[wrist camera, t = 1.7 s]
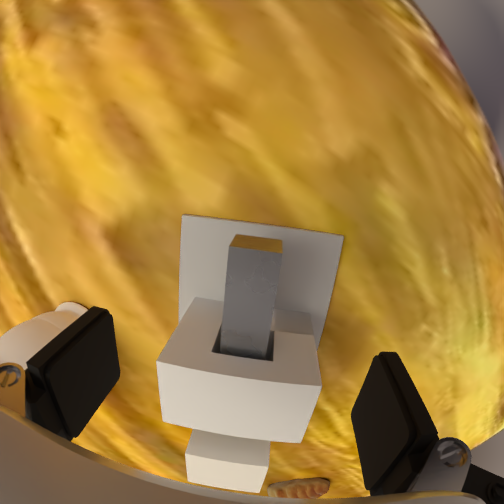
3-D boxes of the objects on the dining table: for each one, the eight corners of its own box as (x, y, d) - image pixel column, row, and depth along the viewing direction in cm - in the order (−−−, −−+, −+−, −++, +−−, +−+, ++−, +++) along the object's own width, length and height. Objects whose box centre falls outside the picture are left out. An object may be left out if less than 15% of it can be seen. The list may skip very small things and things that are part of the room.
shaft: (236, 233, 19) (228, 246, 16) (282, 240, 19) (282, 253, 16) (218, 431, 25) (213, 454, 22) (248, 436, 25) (245, 459, 22)
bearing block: (184, 213, 24) (126, 246, 14) (342, 235, 23) (381, 281, 14) (182, 393, 30) (154, 461, 20) (297, 410, 29) (299, 484, 19)
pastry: (320, 469, 33) (322, 490, 29) (335, 484, 34) (336, 502, 31) (264, 483, 35) (262, 502, 31) (282, 496, 36) (282, 514, 33)
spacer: (197, 416, 21) (185, 453, 17) (271, 428, 20) (268, 467, 17) (197, 448, 22) (188, 481, 18) (262, 458, 22) (259, 492, 18)
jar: (123, 380, 30) (64, 472, 16) (58, 355, 31) (-7, 424, 16) (115, 304, 27) (22, 396, 13) (44, 282, 28) (-47, 344, 13)
